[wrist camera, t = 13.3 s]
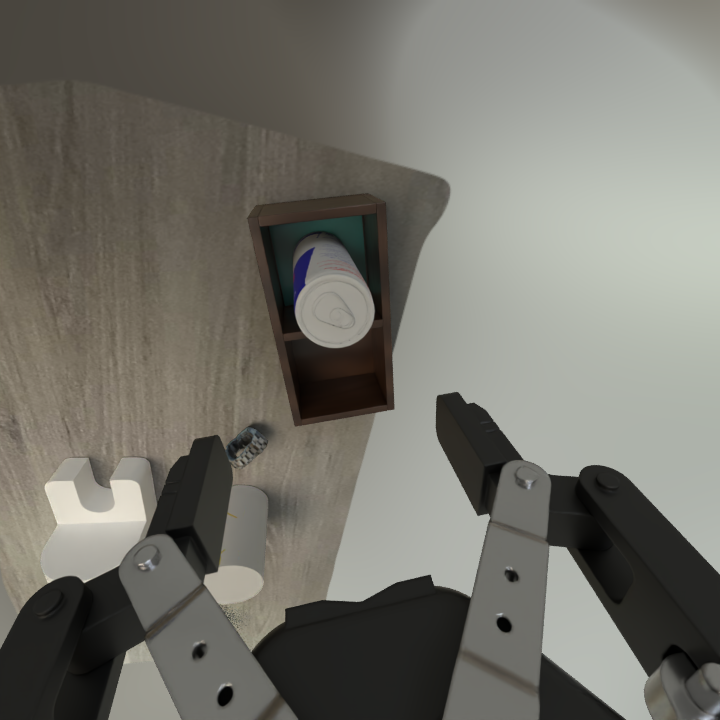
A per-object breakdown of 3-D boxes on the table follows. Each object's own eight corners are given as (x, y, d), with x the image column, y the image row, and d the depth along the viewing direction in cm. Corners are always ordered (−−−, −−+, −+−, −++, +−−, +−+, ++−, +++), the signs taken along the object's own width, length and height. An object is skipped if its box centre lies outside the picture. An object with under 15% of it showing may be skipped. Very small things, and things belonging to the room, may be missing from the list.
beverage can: (292, 229, 35) (293, 272, 23) (348, 231, 36) (379, 274, 24) (293, 284, 38) (294, 351, 25) (345, 285, 39) (372, 349, 26)
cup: (227, 478, 51) (211, 559, 41) (278, 494, 54) (275, 573, 44) (202, 513, 54) (182, 598, 44) (252, 526, 57) (244, 608, 47)
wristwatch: (254, 436, 50) (272, 442, 46) (225, 464, 47) (242, 473, 44) (241, 420, 49) (259, 425, 45) (211, 448, 46) (227, 456, 42)
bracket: (164, 547, 56) (137, 630, 46) (90, 551, 54) (46, 639, 44) (149, 457, 47) (112, 536, 37) (59, 457, 45) (-5, 541, 35)
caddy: (255, 205, 35) (247, 217, 28) (368, 193, 36) (385, 202, 29) (294, 386, 46) (294, 426, 39) (379, 372, 47) (394, 409, 40)
